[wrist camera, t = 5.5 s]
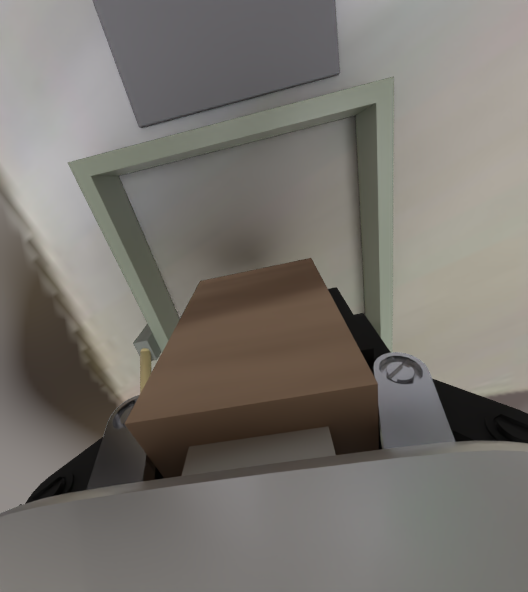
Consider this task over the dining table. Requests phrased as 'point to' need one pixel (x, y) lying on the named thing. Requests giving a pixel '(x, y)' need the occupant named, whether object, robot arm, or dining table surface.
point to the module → (257, 378)
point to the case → (338, 105)
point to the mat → (216, 50)
